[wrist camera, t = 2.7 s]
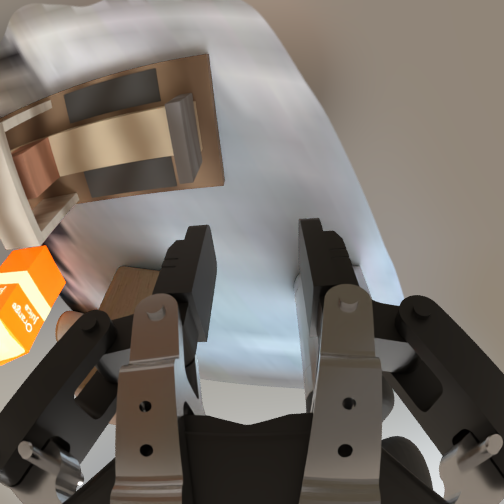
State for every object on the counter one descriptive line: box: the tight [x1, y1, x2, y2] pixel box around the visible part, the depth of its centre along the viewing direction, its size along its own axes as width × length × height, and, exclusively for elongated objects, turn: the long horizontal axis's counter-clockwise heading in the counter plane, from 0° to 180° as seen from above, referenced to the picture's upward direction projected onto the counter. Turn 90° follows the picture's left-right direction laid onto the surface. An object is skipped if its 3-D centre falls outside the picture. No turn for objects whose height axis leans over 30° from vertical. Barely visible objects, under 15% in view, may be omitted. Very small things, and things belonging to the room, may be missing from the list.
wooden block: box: [75, 266, 160, 425], centre depth 37 cm, size 10×10×20 cm
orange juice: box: [0, 245, 66, 366], centre depth 34 cm, size 8×9×20 cm
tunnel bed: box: [0, 54, 225, 250], centre depth 26 cm, size 42×14×11 cm, turn 95°
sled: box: [10, 93, 203, 200], centre depth 27 cm, size 39×7×6 cm, turn 95°
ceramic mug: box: [56, 311, 83, 342], centre depth 47 cm, size 11×8×8 cm
